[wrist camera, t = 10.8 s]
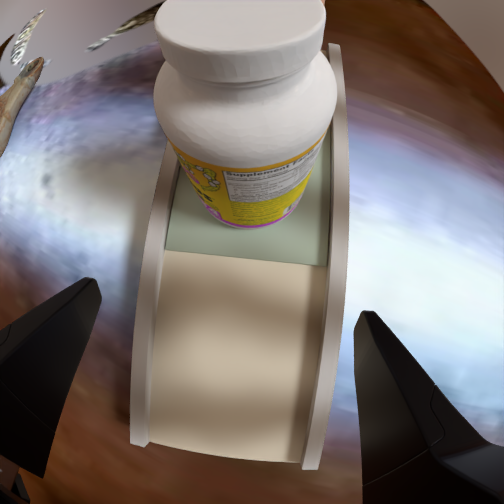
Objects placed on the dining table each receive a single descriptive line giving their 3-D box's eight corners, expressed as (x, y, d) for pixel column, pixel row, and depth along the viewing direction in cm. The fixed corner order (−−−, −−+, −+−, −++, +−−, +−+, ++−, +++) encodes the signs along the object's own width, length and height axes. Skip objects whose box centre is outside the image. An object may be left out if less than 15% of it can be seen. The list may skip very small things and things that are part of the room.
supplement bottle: (192, 148, 19) (130, -14, 6) (288, 131, 19) (313, -39, 6) (207, 243, 18) (106, 113, 5) (314, 222, 18) (407, 72, 5)
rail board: (312, 454, 16) (317, 469, 14) (142, 431, 17) (130, 443, 15) (335, 61, 22) (339, 45, 20) (205, 51, 22) (201, 35, 20)
